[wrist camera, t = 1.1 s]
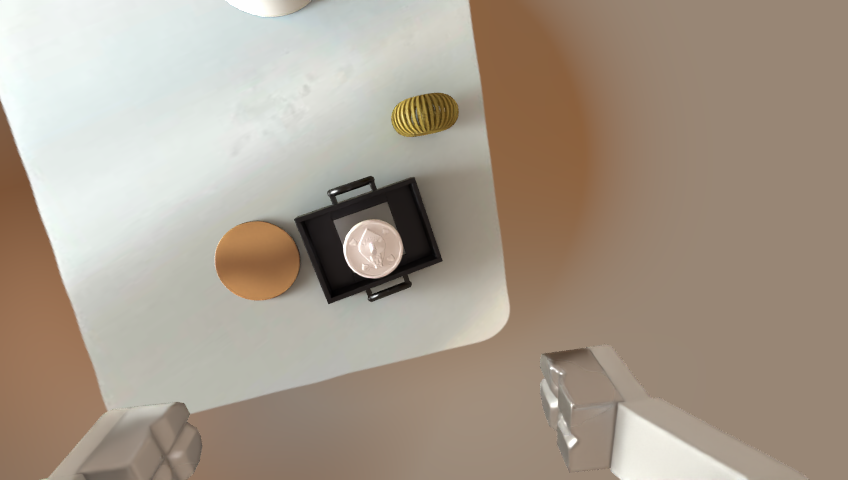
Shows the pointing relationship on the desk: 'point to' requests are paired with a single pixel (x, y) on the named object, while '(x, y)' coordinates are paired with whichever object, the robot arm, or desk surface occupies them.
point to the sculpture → (425, 114)
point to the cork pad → (257, 260)
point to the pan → (330, 251)
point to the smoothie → (373, 248)
